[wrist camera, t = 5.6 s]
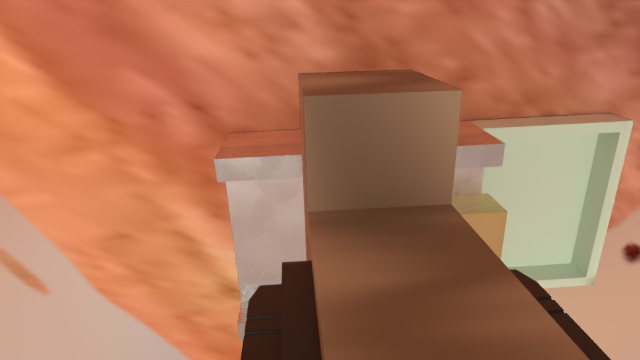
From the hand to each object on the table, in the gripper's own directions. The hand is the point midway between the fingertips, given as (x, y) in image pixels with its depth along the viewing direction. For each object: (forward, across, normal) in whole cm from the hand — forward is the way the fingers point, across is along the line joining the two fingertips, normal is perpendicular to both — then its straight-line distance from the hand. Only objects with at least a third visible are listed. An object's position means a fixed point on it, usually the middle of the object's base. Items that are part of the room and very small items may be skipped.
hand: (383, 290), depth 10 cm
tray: (+22, -17, +8) cm, 29 cm away
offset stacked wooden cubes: (+5, 0, 0) cm, 5 cm away
